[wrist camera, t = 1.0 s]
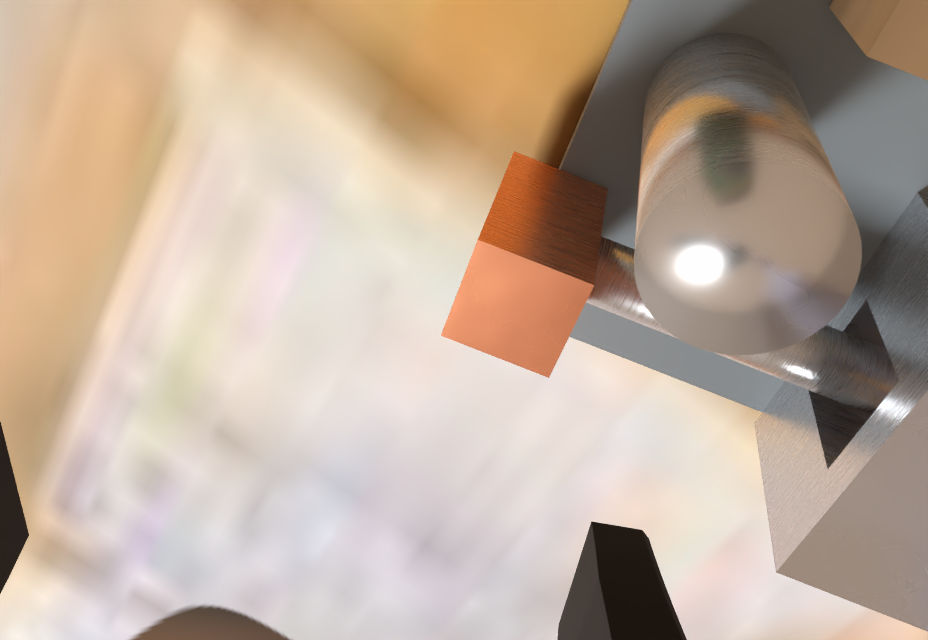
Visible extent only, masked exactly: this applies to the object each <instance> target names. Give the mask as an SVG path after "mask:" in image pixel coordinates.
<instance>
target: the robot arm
mask: <svg viewBox="0 0 928 640" xmlns="http://www.w3.org/2000/svg"><path fill="white" fill-rule="evenodd" d="M28 536H29V533H28V529H27V525H26V521H25V517H24V513H23V509H22V505H21V501H20V498H19V494H18V490H17V486H16V482H15V478H14V474H13V470H12V466H11V462H10V458H9V454H8V450H7V446H6V442H5V438H4V434H3V430H2V426H1V422H0V593H1V591H2V589H3V587H4V585H5V584H6V582H7V580H8V578H9V576H10V574H11V571H12V569H13V567H14V565H15V563H16V561H17V559H18V557H19V555H20V553H21V551H22V549H23V546H24V544H25V542H26V540H27V538H28ZM558 640H687V639H686V637H685V634H684V632H683V630H682V627H681V625H680V622H679V620H678V617H677V615H676V612H675V610H674V607H673V605H672V602H671V600H670V597H669V594H668V592H667V589H666V587H665V584H664V581H663V579H662V576H661V573H660V570H659V567H658V565H657V562H656V559H655V556H654V553H653V550H652V547H651V544H650V541H649V538H648V537H647V536H646V534H645V533H644V532H643V531H642V530H638V529H632V528H626V527H621V526H615V525H609V524H603V523H597V522H591V525H590V528H589V531H588V534H587V538H586V541H585V544H584V547H583V550H582V553H581V556H580V560H579V563H578V566H577V569H576V572H575V575H574V579H573V582H572V585H571V588H570V591H569V594H568V598H567V601H566V604H565V607H564V610H563V613H562V616H561V620H560V623H559V628H558Z"/></svg>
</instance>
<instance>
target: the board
mask: <svg viewBox="0 0 928 640" xmlns="http://www.w3.org/2000/svg"><path fill="white" fill-rule="evenodd" d="M832 1H833V0H630V1H629V3H628V6H627V8H626V10H625V13H624V15H623V17H622V20H621V22H620V24H619V27H618V29H617V32H616V34H615V36H614V39H613V41H612V43H611V46H610V48H609V50H608V53H607V55H606V57H605V60H604V62H603V65H602V67H601V69H600V72H599V74H598V76H597V79H596V81H595V83H594V86H593V88H592V90H591V93H590V95H589V98H588V100H587V102H586V105H585V107H584V109H583V112H582V114H581V116H580V119H579V121H578V123H577V126H576V128H575V131H574V133H573V135H572V138H571V140H570V142H569V145H568V147H567V149H566V152H565V154H564V156H563V159H562V161H561V163H560V166H559V168H558V169H560V170H562V171H565V172H567V173H570V174H573V175H575V176H578V177H580V178H583V179H585V180H588V181H590V182H593V183H595V184H598V185H600V186H603V187H605V188H608V190H607V198H606V205H605V212H604V219H603V226H602V234H601V236H602V237H604V238H607V239H610V240H612V241H615V242H617V243H620V244H622V245H625V246H627V247H630V248H632V249H635V238H636V223H637V208H638V193H639V178H640V163H641V148H642V133H643V118H644V105H645V97H646V93H647V90H648V87H649V84H650V82H651V80H652V78H653V76H654V74H655V72H656V71H657V70H658V68H659V67H660V65H661V64H662V63H663V62H664V61H665V60H666V59H667V57H668V56H670V55H671V54H672V53H673V52H674V51H676V50H677V49H678V48H680V47H681V46H683V45H685V44H686V43H688V42H690V41H693V40H695V39H698V38H700V37H703V36H707V35H712V34H720V33H735V34H741V35H746V36H749V37H752V38H755V39H757V40H759V41H761V42H763V43H765V44H766V45H768V46H769V47H771V48H772V49H773V50H774V51H775V52H776V53H777V54H778V55H779V56H780V57H781V58H782V59H783V61H784V62H785V64H786V65H787V67H788V69H789V71H790V73H791V75H792V77H793V80H794V82H795V84H796V87H797V89H798V91H799V93H800V96H801V98H802V100H803V102H804V105H805V107H806V109H807V112H808V114H809V116H810V118H811V121H812V123H813V125H814V127H815V130H816V132H817V134H818V137H819V139H820V141H821V143H822V146H823V148H824V150H825V152H826V155H827V157H828V159H829V161H830V164H831V166H832V168H833V171H834V173H835V175H836V177H837V180H838V182H839V184H840V186H841V189H842V191H843V193H844V196H845V198H846V200H847V202H848V205H849V207H850V209H851V211H852V214H853V216H854V218H855V221H856V224H857V226H858V229H859V233H860V237H861V243H862V260H861V269H860V272H859V274H860V273H861V271H862V270H863V268H864V267H865V265H866V264H867V263H868V261H869V260H870V258H871V257H872V255H873V254H874V253H875V251H876V250H877V248H878V247H879V245H880V244H881V243H882V241H883V240H884V238H885V237H886V235H887V234H888V233H889V231H890V230H891V228H892V227H893V225H894V224H895V223H896V221H897V220H898V218H899V217H900V216H901V214H902V213H903V211H904V210H905V208H906V207H907V206H908V204H909V203H910V201H911V200H912V198H913V197H914V196H915V194H916V193H917V192H919V193H922V194H924V195H927V196H928V80H925V79H922V78H920V77H917V76H915V75H912V74H910V73H907V72H905V71H902V70H900V69H897V68H895V67H892V66H890V65H887V64H885V63H882V62H880V61H877V60H875V59H872V58H870V57H867V56H866V55H865V54H864V52H863V51H862V50H861V48H860V47H859V46H858V44H857V43H856V42H855V40H854V39H853V38H852V37H851V35H850V34H849V33H848V31H847V30H846V29H845V27H844V26H843V25H842V23H841V22H840V21H839V20H838V18H837V17H836V16H835V14H834V13H833V12H832V10H831V9H830V8H829V7H830V5H831V3H832ZM569 337H572V338H574V339H577V340H580V341H582V342H585V343H587V344H590V345H592V346H595V347H597V348H600V349H602V350H605V351H608V352H610V353H613V354H615V355H618V356H620V357H623V358H625V359H628V360H631V361H633V362H636V363H638V364H641V365H643V366H646V367H648V368H651V369H653V370H656V371H659V372H661V373H664V374H666V375H669V376H671V377H674V378H676V379H679V380H682V381H684V382H687V383H689V384H692V385H694V386H697V387H699V388H702V389H704V390H707V391H710V392H712V393H715V394H717V395H720V396H722V397H725V398H727V399H730V400H732V401H735V402H738V403H740V404H743V405H745V406H748V407H750V408H753V409H755V410H758V411H761V412H763V411H764V410H765V408H766V407H767V405H768V404H769V402H770V401H771V400H772V398H773V397H774V395H775V394H776V392H777V391H778V390H779V388H780V387H781V385H782V384H783V382H784V380H782V379H779V378H777V377H774V376H772V375H769V374H767V373H764V372H762V371H759V370H756V369H754V368H751V367H749V366H746V365H744V364H741V363H739V362H736V361H734V360H731V359H728V358H726V357H723V356H721V355H718V354H716V353H713V352H710V351H706V350H703V349H700V348H697V347H694V346H692V345H690V344H688V343H685V342H683V341H682V340H680V339H678V338H675V337H672V336H670V335H667V334H665V333H662V332H660V331H657V330H655V329H652V328H650V327H647V326H644V325H642V324H639V323H637V322H634V321H632V320H629V319H627V318H624V317H622V316H619V315H616V314H614V313H611V312H609V311H606V310H604V309H601V308H599V307H596V306H594V305H591V304H588V303H585V305H584V307H583V309H582V311H581V313H580V316H579V318H578V320H577V322H576V324H575V326H574V328H573V330H572V332H571V334H570V336H569Z"/></svg>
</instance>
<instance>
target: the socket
mask: <svg viewBox="0 0 928 640" xmlns="http://www.w3.org/2000/svg"><path fill="white" fill-rule="evenodd" d="M829 8H830V9H831V10H832V12H833V13H834V14H835V16H836V17H837V18H838V20H839V21H840V22H841V23H842V25H843V26H844V27H845V29H846V30H847V31H848V33H849V34H850V35H851V37H852V38H853V39H854V40H855V42H856V43H857V44H858V46H859V47H860V48H861V50H862V51H863V52H864V54H865V55H866V56H867V57H870V58H872V59H875V60H877V61H880V62H882V63H885V64H887V65H890V66H892V67H895V68H897V69H900V70H902V71H905V72H907V73H910V74H912V75H915V76H917V77H920V78H922V79H925V80H928V0H833V1H832V3H831V5H830V7H829Z"/></svg>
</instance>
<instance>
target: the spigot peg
mask: <svg viewBox="0 0 928 640" xmlns="http://www.w3.org/2000/svg"><path fill="white" fill-rule="evenodd" d="M861 260H862V243H861V237H860V233H859V229H858V226H857V224H856V221H855V218H854V216H853V214H852V211H851V209H850V207H849V205H848V202H847V200H846V198H845V196H844V193H843V191H842V189H841V186H840V184H839V182H838V180H837V177H836V175H835V173H834V171H833V168H832V166H831V164H830V161H829V159H828V157H827V155H826V152H825V150H824V148H823V146H822V143H821V141H820V139H819V137H818V134H817V132H816V130H815V127H814V125H813V123H812V121H811V118H810V116H809V114H808V112H807V109H806V107H805V105H804V102H803V100H802V98H801V96H800V93H799V91H798V89H797V87H796V84H795V82H794V80H793V77H792V75H791V73H790V71H789V69H788V67H787V65H786V64H785V62H784V61H783V59H782V58H781V57H780V56H779V55H778V54H777V53H776V52H775V51H774V50H773V49H772V48H771V47H769V46H768V45H766V44H765V43H763V42H761V41H759V40H757V39H755V38H752V37H749V36H746V35H741V34H735V33H720V34H712V35H707V36H703V37H700V38H698V39H695V40H693V41H690V42H688V43H686V44H685V45H683V46H681V47H680V48H678V49H677V50H676V51H674V52H673V53H672V54H671V55H670V56H668V57H667V59H666V60H665V61H664V62H663V63H662V64H661V65H660V67H659V68H658V70H657V71H656V72H655V74H654V76H653V78H652V80H651V82H650V84H649V87H648V90H647V93H646V97H645V105H644V118H643V133H642V148H641V163H640V178H639V193H638V208H637V223H636V238H635V253H634V274H635V279H636V285H637V288H638V291H639V294H640V297H641V299H642V301H643V302H644V304H645V306H646V308H647V309H648V311H649V312H650V314H651V315H652V316H653V318H654V319H655V320H656V321H657V322H658V323H659V324H660V325H661V326H662V327H663V328H664V329H666V330H667V331H668V332H669V333H671V334H672V335H673V336H675V337H677V338H678V339H680V340H682V341H683V342H685V343H688V344H690V345H692V346H694V347H697V348H700V349H703V350H706V351H710V352H715V353H719V354H728V355H754V354H763V353H768V352H772V351H777V350H780V349H783V348H786V347H789V346H791V345H794V344H796V343H798V342H800V341H802V340H804V339H806V338H808V337H809V336H811V335H813V334H814V333H816V332H817V331H819V330H820V329H821V328H823V327H824V326H825V325H826V324H827V323H829V322H830V321H831V320H832V319H833V318H834V317H835V316H836V315H837V314H838V312H839V311H840V310H841V309H842V307H843V306H844V305H845V303H846V302H847V300H848V299H849V297H850V295H851V294H852V292H853V289H854V287H855V285H856V282H857V280H858V276H859V272H860V269H861Z"/></svg>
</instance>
